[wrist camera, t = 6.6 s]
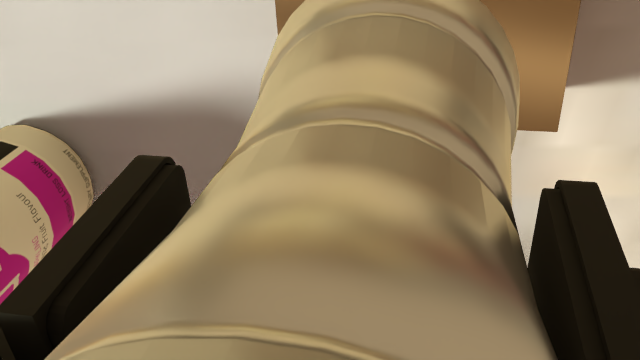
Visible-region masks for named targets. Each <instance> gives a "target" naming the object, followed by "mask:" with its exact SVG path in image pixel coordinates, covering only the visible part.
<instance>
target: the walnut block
mask: <svg viewBox="0 0 640 360" xmlns="http://www.w3.org/2000/svg"><path fill="white" fill-rule="evenodd" d="M304 1H305V0H275V5H276V17H277V29H278V35H279V33H280V32H281V30H282V28H283V27H284V25H285V24H286V22H287V21H288V19H289V17H290V16H291V14H292V13H293V12H294V11H295V10H296V9H297V8H298V7H299V6H300V5H301V4H302V3H303V2H304ZM479 1H481V2H482V3H483V4H484V5H486V6H487V8H488V9H489V10H490V12H491V13H492V14H493V16H494V17H495V18H496V19H497V21H498V22H499V23H500V25H501V26H502V27H503V29H504V31H505V33H506V35H507V38H508V40H509V42H510V44H511V46H512V48H513V50H514V54H515V58H516V63H517V67H518V72H519V76H520V104H519V119H518V128H517V130H526V131H547V132H557V131H558V125H559V120H560V114H561V109H562V103H563V97H564V92H565V86H566V81H567V75H568V70H569V64H570V58H571V53H572V47H573V42H574V36H575V31H576V25H577V20H578V14H579V8H580V3H581V0H479Z"/></svg>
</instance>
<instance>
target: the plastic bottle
mask: <svg viewBox="0 0 640 360" xmlns="http://www.w3.org/2000/svg"><path fill="white" fill-rule="evenodd" d="M519 104H520V76H519V72H518V67H517V63H516V58H515V54H514V50H513V48H512V46H511V44H510V42H509V40H508V38H507V35H506V33H505V31H504V29H503V27H502V26H501V25H500V23H499V22H498V21H497V19H496V18H495V17H494V16H493V14H492V13H491V12H490V10H489V9H488V8H487V6H486V5H484V4H483V3H482V2H481V1H479V0H305V1H304V2H303V3H302V4H301V5H300V6H299V7H298V8H297V9H296V10H295V11H294V12H293V13H292V14H291V16H290V17H289V19H288V21H287V22H286V24H285V25H284V27H283V28H282V30H281V32H280V33H279V35H278V37H277V39H276V42H275V45H274V47H273V50H272V52H271V55H270V58H269V60H268V63H267V66H266V69H265V71H264V74H263V77H262V80H261V86H260V92H259V99H258V102H257V104H256V106H255V108H254V111H253V113H252V115H251V117H250V119H249V122H248V124H247V126H246V128H245V130H244V132H243V135H242V137H241V139H240V141H239V143H238V146H237V148H236V149H235V150H234V152H233V153H232V154H231V156H230V157H229V158H228V159H227V161H226V162H225V164H224V165H223V167H222V168H221V170H220V171H219V172H218V173H217V174H216V175H215V176H214V178H213V179H212V180H211V181H210V183H209V184H208V185H207V187H206V188H205V189H204V191H203V192H202V193H201V194H200V196H199V197H198V198H197V200H196V201H195V202H194V204H193V205H192V206H191V207H190V209H189V210H188V211H187V213H186V214H185V215H184V217H183V218H182V219H181V220H180V222H179V223H178V224H177V226H176V227H175V228H174V230H173V231H172V232H171V233H170V234H169V235H168V236H167V237H166V238H165V239H164V240H163V241H162V242H161V243H160V244H159V245H158V246H157V247H156V248H155V249H154V250H153V251H152V252H151V253H150V254H149V255H148V256H147V257H146V258H145V259H144V260H143V261H142V262H141V263H140V264H139V265H138V266H137V267H136V268H135V269H134V270H133V271H132V272H131V273H130V274H129V275H128V276H127V277H126V278H125V279H124V280H123V281H122V282H121V283H120V284H119V285H118V286H117V287H116V288H115V289H114V290H113V291H112V292H111V293H110V294H109V295H108V296H107V297H106V298H105V299H104V300H103V301H102V302H101V303H100V304H99V305H98V306H97V307H96V308H95V309H94V310H93V311H92V312H91V313H90V314H89V315H88V316H87V317H86V318H85V319H84V320H83V321H82V322H81V323H80V324H79V325H78V326H77V327H76V328H75V329H74V330H73V331H72V332H71V333H70V334H69V335H68V336H67V337H66V338H65V339H64V340H63V341H62V342H61V343H60V344H59V345H58V346H57V347H56V348H55V349H54V350H53V351H52V352H51V353H50V354H49V355H48V356H47V357H46V358H45V359H44V360H558V359H557V356H556V354H555V351H554V349H553V346H552V344H551V341H550V339H549V336H548V334H547V331H546V329H545V326H544V324H543V321H542V319H541V316H540V314H539V311H538V308H537V305H536V301H535V297H534V293H533V289H532V285H531V281H530V277H529V273H528V269H527V265H526V261H525V258H524V254H523V250H522V246H521V242H520V238H519V234H518V230H517V226H516V222H515V218H514V214H513V211H512V195H511V154H512V150H513V146H514V142H515V137H516V132H517V128H518V119H519Z"/></svg>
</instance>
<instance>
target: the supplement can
mask: <svg viewBox="0 0 640 360" xmlns="http://www.w3.org/2000/svg"><path fill="white" fill-rule="evenodd" d="M93 196H94V194H93V189H92V184H91V179H90V176H89V174H88V171H87V169H86V168H85V166H84V164H83V162H82V160H81V159H80V157H79V156H78V155H77V154H76V153H75V152H74V151H73V150H72V149H71V148H70V147H69V146H68V144H67V143H65V142H63V141H62V140H60V139H59V138H57V137H55V136H54V135H52V134H51V133H48V132H46V131H43V130H40V129H37V128H34V127H30V126H27V125H8V126H5V127H3V128H1V129H0V304H1V303H2V302H3V301H4V300H5V299H6V298H7V297H8V296H9V295H10V293H11V292H12V291H13V290H14V289H15V288H16V287H17V286H18V285H19V284H20V283H21V281H22V280H23V279H24V278H25V277H26V276H27V275H28V274H29V273H30V272H31V271H32V269H33V268H34V267H35V266H36V265H37V264H38V263H39V262H40V261H41V260H42V259H43V258H44V256H45V255H46V254H47V253H48V252H49V251H50V250H51V249H52V248H53V247H54V246H55V244H56V243H57V242H58V241H59V240H60V239H61V238H62V237H63V236H64V235H65V234H66V232H67V231H68V230H69V229H70V228H71V227H72V226H73V225H74V224H75V223H76V222H77V221H78V219H79V218H80V217H81V216H82V215H83V214H84V213H85V212H86V211H87V210H88V209H89V207H90V206H91V205H92V201H93Z"/></svg>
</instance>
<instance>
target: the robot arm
mask: <svg viewBox="0 0 640 360" xmlns="http://www.w3.org/2000/svg"><path fill="white" fill-rule="evenodd" d="M190 207H191V203H190V198H189V193H188V188H187V182H186V177H185V173H184V170H183V168H182V167H181V166H180V165H175V162H174V161H173V159H172V158H170V157H163V156H146V155H139V156H137V157H136V158H134V160H133V161H132V162H131V163H130V164H129V165H128V166H127V167H126V168H125V169H124V170H123V172H122V173H121V174H120V175H119V176H118V177H117V178H116V179H115V180H114V181H113V182H112V184H111V185H110V186H109V187H108V188H107V189H106V190H105V191H104V192H103V193H102V194H101V195H100V197H99V198H98V199H97V200H96V201H95V202H94V203H93V204H92V205H91V206H90V207H89V209H88V210H87V211H86V212H85V213H84V214H83V215H82V216H81V217H80V218H79V219H78V221H77V222H76V223H75V224H74V225H73V226H72V227H71V228H70V229H69V230H68V231H67V232H66V234H65V235H64V236H63V237H62V238H61V239H60V240H59V241H58V242H57V243H56V244H55V246H54V247H53V248H52V249H51V250H50V251H49V252H48V253H47V254H46V255H45V256H44V258H43V259H42V260H41V261H40V262H39V263H38V264H37V265H36V266H35V267H34V268H33V269H32V271H31V272H30V273H29V274H28V275H27V276H26V277H25V278H24V279H23V280H22V281H21V283H20V284H19V285H18V286H17V287H16V288H15V289H14V290H13V291H12V292H11V293H10V295H9V296H8V297H7V298H6V299H5V300H4V301H3V302H2V303H1V304H0V360H44V359H45V358H46V357H47V356H48V355H49V354H50V353H51V352H52V351H53V350H54V349H55V348H56V347H57V346H58V345H59V344H60V343H61V342H62V341H63V340H64V339H65V338H66V337H67V336H68V335H69V334H70V333H71V332H72V331H73V330H74V329H75V328H76V327H77V326H78V325H79V324H80V323H81V322H82V321H83V320H84V319H85V318H86V317H87V316H88V315H89V314H90V313H91V312H92V311H93V310H94V309H95V308H96V307H97V306H98V305H99V304H100V303H101V302H102V301H103V300H104V299H105V298H106V297H107V296H108V295H109V294H110V293H111V292H112V291H113V290H114V289H115V288H116V287H117V286H118V285H119V284H120V283H121V282H122V281H123V280H124V279H125V278H126V277H127V276H128V275H129V274H130V273H131V272H132V271H133V270H134V269H135V268H136V267H137V266H138V265H139V264H140V263H141V262H142V261H143V260H144V259H145V258H146V257H147V256H148V255H149V254H150V253H151V252H152V251H153V250H154V249H155V248H156V247H157V246H158V245H159V244H160V243H161V242H162V241H163V240H164V239H165V238H166V237H167V236H168V235H169V234H170V233H171V232H172V231H173V230H174V228H175V227H176V226H177V224H178V223H179V222H180V220H181V219H182V218H183V217H184V215H185V214H186V213H187V211H188V210H189V209H190ZM527 269H528V273H529V277H530V281H531V285H532V289H533V293H534V297H535V301H536V305H537V308H538V311H539V314H540V316H541V319H542V321H543V324H544V326H545V329H546V331H547V334H548V336H549V339H550V341H551V344H552V346H553V349H554V351H555V354H556V356H557V359H558V360H640V269H639V268H629V266H628V263H627V260H626V258H625V255H624V252H623V250H622V247H621V244H620V242H619V239H618V237H617V234H616V231H615V229H614V226H613V223H612V221H611V218H610V215H609V213H608V210H607V208H606V205H605V202H604V200H603V197H602V194H601V192H600V189H599V186H598V185H597V183H595V182H582V181H565V180H558V181H557V182H556V185H555V187H554V189H549V188H544V189H543V190H542V193H541V197H540V202H539V208H538V213H537V219H536V224H535V230H534V235H533V241H532V246H531V252H530V257H529V263H528V268H527Z"/></svg>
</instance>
